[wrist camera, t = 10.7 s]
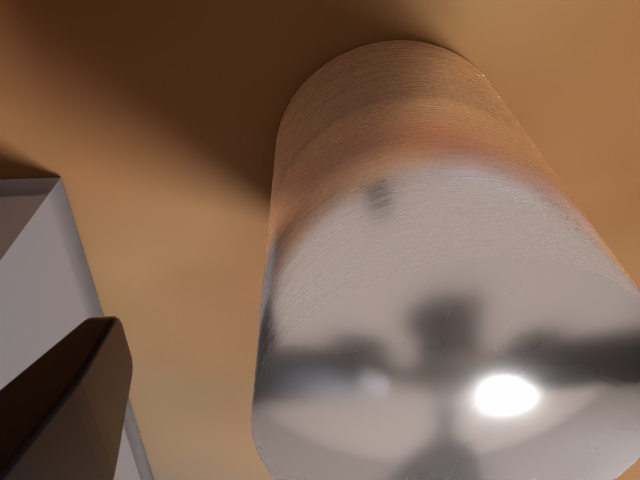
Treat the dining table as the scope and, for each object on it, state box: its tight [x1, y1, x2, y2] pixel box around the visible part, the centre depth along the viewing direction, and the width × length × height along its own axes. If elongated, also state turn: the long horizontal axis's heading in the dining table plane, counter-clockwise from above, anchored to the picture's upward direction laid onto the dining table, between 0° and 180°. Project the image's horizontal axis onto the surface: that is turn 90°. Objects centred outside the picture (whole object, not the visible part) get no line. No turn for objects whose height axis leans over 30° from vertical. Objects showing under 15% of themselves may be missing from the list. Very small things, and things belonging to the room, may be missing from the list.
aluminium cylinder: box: [251, 40, 640, 480], centre depth 10 cm, size 5×5×7 cm
